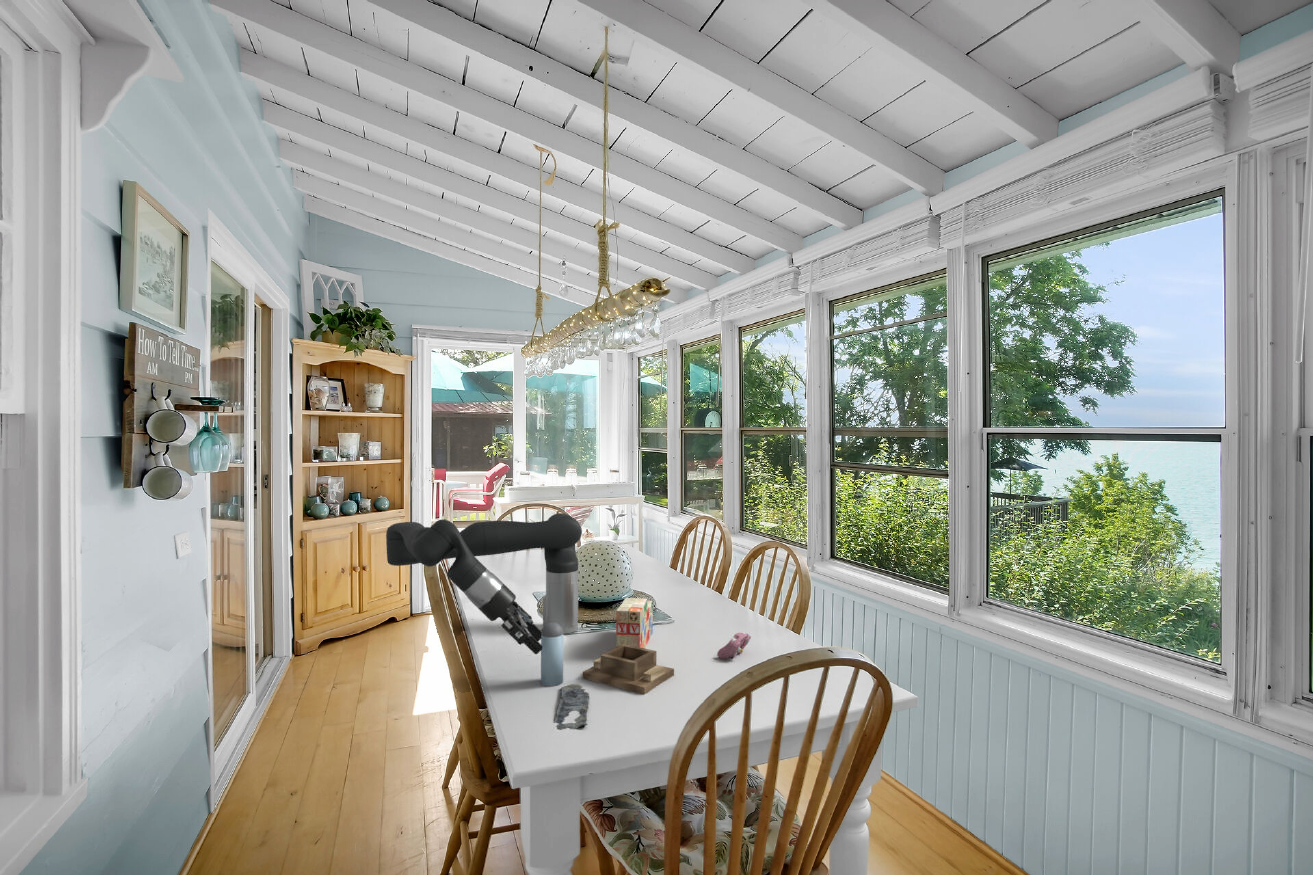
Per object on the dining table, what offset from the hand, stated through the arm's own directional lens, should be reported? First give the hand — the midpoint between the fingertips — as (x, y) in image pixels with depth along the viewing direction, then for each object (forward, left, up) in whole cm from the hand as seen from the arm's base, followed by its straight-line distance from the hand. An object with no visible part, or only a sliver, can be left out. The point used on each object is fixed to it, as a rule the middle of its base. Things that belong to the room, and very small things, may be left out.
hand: (540, 644), depth 144 cm
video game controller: (+29, +41, -9) cm, 51 cm away
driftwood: (+13, -5, -10) cm, 17 cm away
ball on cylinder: (+1, +2, -9) cm, 9 cm away
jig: (+14, +14, -9) cm, 22 cm away
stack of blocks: (+3, +34, -9) cm, 35 cm away
